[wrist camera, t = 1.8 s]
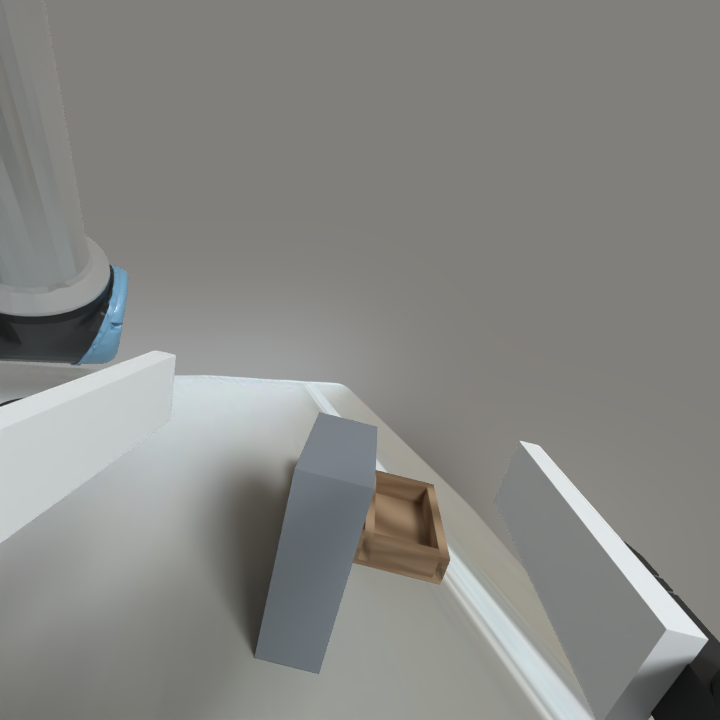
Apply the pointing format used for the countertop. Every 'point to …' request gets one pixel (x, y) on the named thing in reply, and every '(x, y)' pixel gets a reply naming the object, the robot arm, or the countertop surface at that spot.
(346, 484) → the block
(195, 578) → the countertop surface
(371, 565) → the divided wooden tray
